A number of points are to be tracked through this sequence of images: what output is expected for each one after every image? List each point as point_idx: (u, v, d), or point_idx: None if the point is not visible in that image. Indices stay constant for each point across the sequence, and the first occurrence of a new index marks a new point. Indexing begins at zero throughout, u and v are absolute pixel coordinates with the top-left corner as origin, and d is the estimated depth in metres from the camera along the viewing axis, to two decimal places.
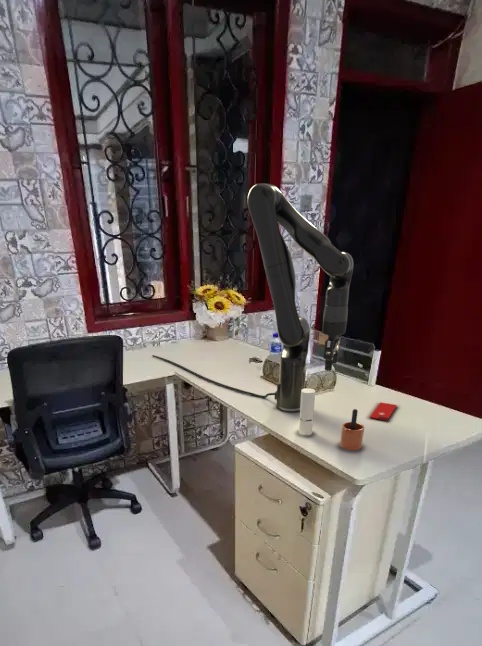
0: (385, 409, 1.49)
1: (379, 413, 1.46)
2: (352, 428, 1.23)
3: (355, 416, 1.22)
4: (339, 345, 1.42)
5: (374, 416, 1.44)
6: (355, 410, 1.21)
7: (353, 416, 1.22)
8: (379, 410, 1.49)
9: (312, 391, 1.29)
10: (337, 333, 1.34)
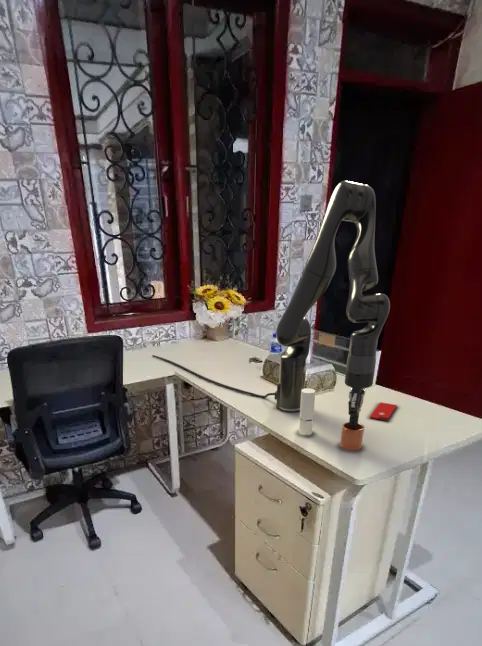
0: (385, 409, 1.49)
1: (379, 413, 1.46)
2: (352, 428, 1.23)
3: None
4: None
5: (374, 416, 1.44)
6: None
7: None
8: (379, 410, 1.49)
9: (312, 391, 1.29)
10: (363, 386, 1.14)
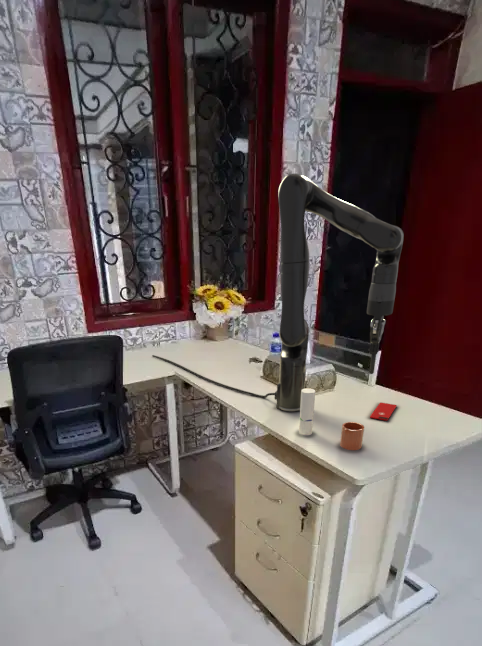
0: (385, 409, 1.49)
1: (379, 413, 1.46)
2: (373, 356, 1.35)
3: None
4: None
5: (374, 416, 1.44)
6: None
7: None
8: (379, 410, 1.49)
9: (312, 391, 1.29)
10: (384, 313, 1.26)
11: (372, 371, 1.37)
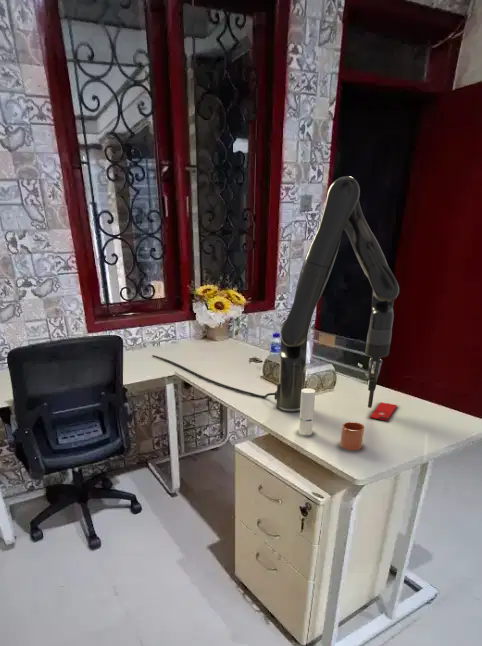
0: (385, 409, 1.49)
1: (379, 413, 1.46)
2: (371, 392, 1.47)
3: None
4: None
5: (374, 416, 1.44)
6: None
7: None
8: (379, 410, 1.49)
9: (312, 391, 1.29)
10: (381, 355, 1.38)
11: (370, 405, 1.49)
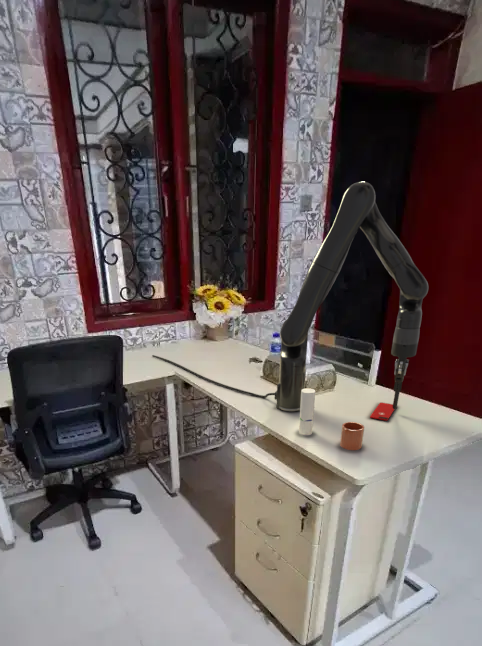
0: (385, 409, 1.49)
1: (379, 413, 1.46)
2: (396, 393, 1.43)
3: None
4: None
5: (374, 416, 1.44)
6: None
7: None
8: (379, 410, 1.49)
9: (312, 391, 1.29)
10: (408, 355, 1.34)
11: (395, 407, 1.45)
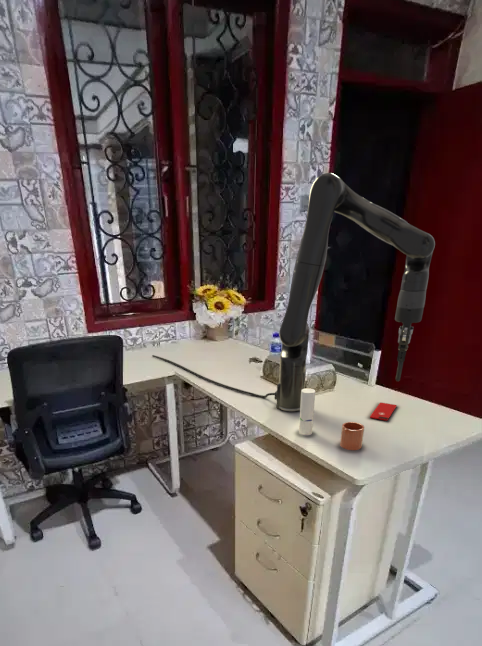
0: (385, 409, 1.49)
1: (379, 413, 1.46)
2: (400, 364, 1.34)
3: None
4: None
5: (374, 416, 1.44)
6: None
7: None
8: (379, 410, 1.49)
9: (312, 391, 1.29)
10: (414, 320, 1.25)
11: (399, 378, 1.36)
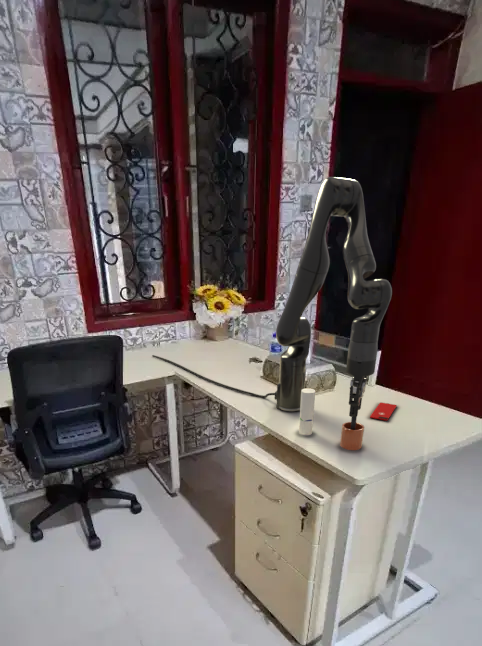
0: (385, 409, 1.49)
1: (379, 413, 1.46)
2: (352, 428, 1.23)
3: None
4: None
5: (374, 416, 1.44)
6: None
7: None
8: (379, 410, 1.49)
9: (312, 391, 1.29)
10: (365, 374, 1.13)
11: None
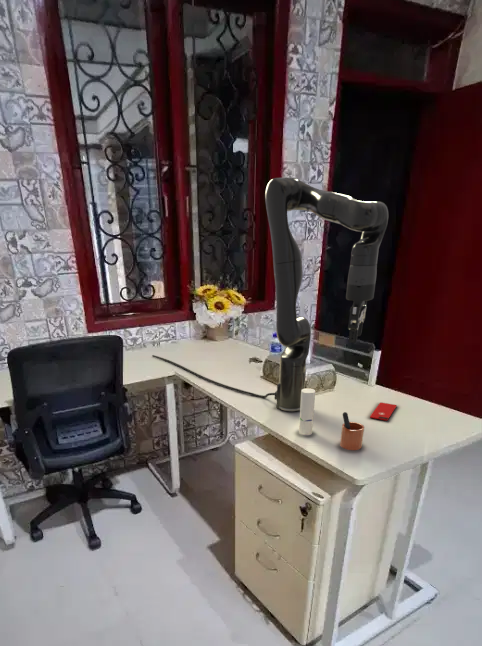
0: (385, 409, 1.49)
1: (379, 413, 1.46)
2: None
3: (346, 419, 1.21)
4: None
5: (374, 416, 1.44)
6: (345, 413, 1.21)
7: (344, 419, 1.22)
8: (379, 410, 1.49)
9: (312, 391, 1.29)
10: (364, 298, 1.16)
11: None
